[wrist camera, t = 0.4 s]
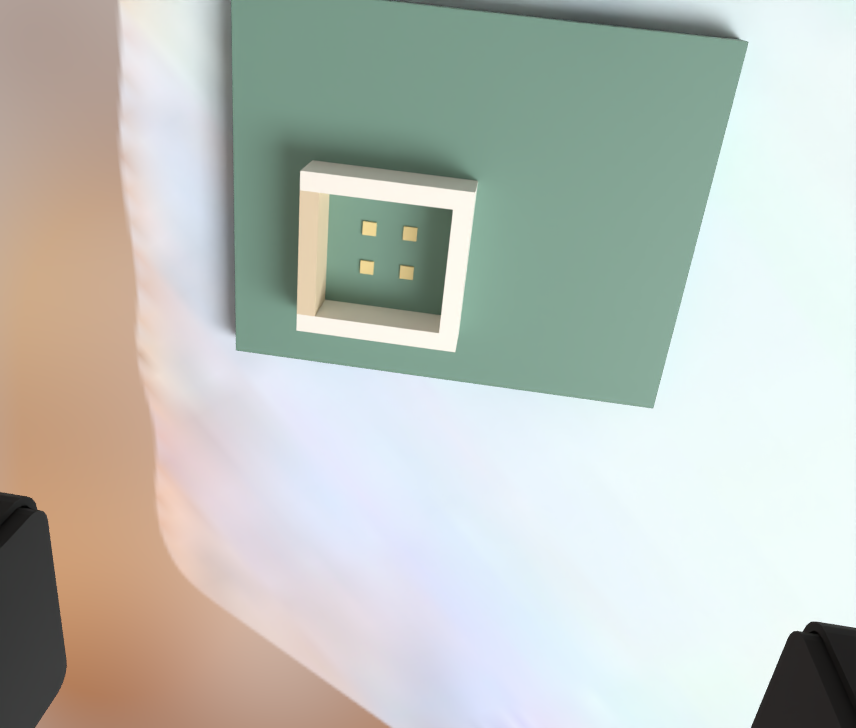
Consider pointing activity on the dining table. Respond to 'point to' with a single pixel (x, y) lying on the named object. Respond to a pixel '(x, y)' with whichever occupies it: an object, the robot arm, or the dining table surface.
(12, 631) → the robot arm
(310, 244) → the board
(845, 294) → the dining table surface
